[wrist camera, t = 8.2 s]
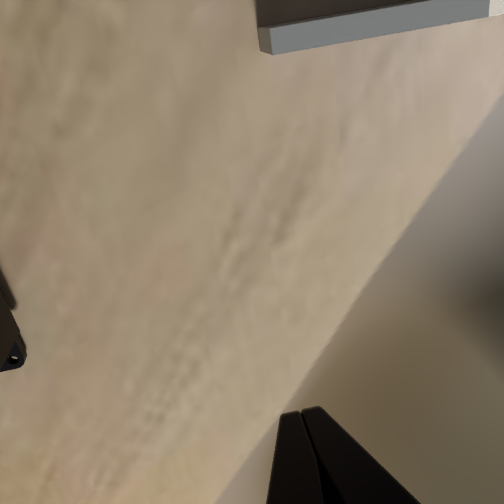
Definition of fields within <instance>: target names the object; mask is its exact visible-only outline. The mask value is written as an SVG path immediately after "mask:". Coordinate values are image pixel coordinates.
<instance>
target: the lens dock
mask: <svg viewBox="0 0 504 504" xmlns="http://www.w3.org/2000/svg"><path fill="white" fill-rule="evenodd" d="M501 14H504V0H414V1H408V2H403V3H397V4H391V5H385V6H380V7H374V8H368V9H362V10H357V11H351V12H345V13H339V14H334V15H328V16H322V17H316V18H310V19H305V20H299V21H293V22H287V23H282V24H276V25H270V26H264V27H259V28H258V36H259V44H260V51H262V52H265V53H268V54H271V55H276V54H282V53H288V52H293V51H299V50H304V49H310V48H316V47H321V46H327V45H333V44H338V43H344V42H349V41H355V40H361V39H366V38H372V37H378V36H383V35H389V34H394V33H400V32H406V31H411V30H417V29H423V28H428V27H434V26H439V25H445V24H451V23H456V22H462V21H468V20H473V19H479V18H484V17H490V16H496V15H501Z"/></svg>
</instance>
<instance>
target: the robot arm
mask: <svg viewBox="0 0 504 504" xmlns="http://www.w3.org/2000/svg"><path fill="white" fill-rule="evenodd" d="M19 332H20V330H19V328H18V326H17V324H16V322H15V319H14V317H13V315H12V313H11V311H10V309H9V307H8V305H7V303H6V301H5V298H4V296H3V294H2V292H1V290H0V372H3V371H7V370H12V369H17V368H19V367H21V366H22V365H23V364H24V362H25V360H26V357H27V353H26V350H25V348H24V346H23V344H22V342H21V340H20V338H19V336H18V334H19ZM11 356H16V357H17V358H18V359H14V358H11ZM266 504H421V503H420V502H419V501H417V499H415V497H414V496H413V495H411V494H410V493H409V492H408V491H407V490H406V489H405V488H404V487H403V486H402V485H401V484H400V483H399V482H398V481H397V480H396V479H395V478H394V477H393V476H392V475H391V474H390V473H389V472H388V471H387V470H386V469H385V468H384V467H383V466H381V464H380V463H378V461H376V460H375V459H374V458H373V457H372V456H371V455H370V454H369V453H368V452H367V451H366V450H365V449H364V448H363V447H362V446H361V445H360V444H359V443H358V442H357V441H356V440H355V439H354V438H353V437H352V436H351V435H350V434H349V433H348V432H346V431H345V429H344V428H342V427H341V426H340V425H339V424H338V423H337V422H336V421H335V420H334V419H333V418H332V417H331V416H330V415H329V414H328V413H327V412H326V411H325V410H324V409H323V408H322V407H320V406H314V407H310V408H305V409H303V410H302V411H301V413H300V411H292V412H288V413H283V414H282V415H281V416H280V420H279V426H278V432H277V439H276V445H275V451H274V457H273V464H272V470H271V476H270V483H269V489H268V495H267V501H266Z"/></svg>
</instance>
